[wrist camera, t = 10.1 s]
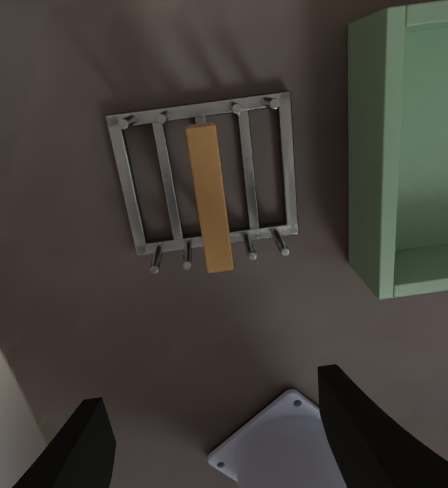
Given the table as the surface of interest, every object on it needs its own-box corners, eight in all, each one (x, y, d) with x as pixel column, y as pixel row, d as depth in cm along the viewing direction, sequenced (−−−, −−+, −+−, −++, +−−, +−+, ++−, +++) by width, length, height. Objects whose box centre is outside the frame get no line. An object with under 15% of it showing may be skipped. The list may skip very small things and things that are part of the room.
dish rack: (288, 90, 18) (318, 92, 14) (296, 230, 21) (324, 271, 16) (107, 114, 18) (76, 124, 14) (138, 251, 21) (120, 299, 16)
